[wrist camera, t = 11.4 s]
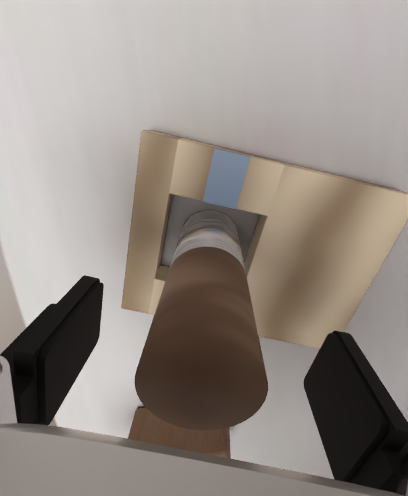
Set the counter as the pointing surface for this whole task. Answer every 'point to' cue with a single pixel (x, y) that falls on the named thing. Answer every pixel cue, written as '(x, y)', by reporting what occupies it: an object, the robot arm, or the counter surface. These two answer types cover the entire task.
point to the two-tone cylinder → (204, 334)
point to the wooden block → (178, 435)
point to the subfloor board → (268, 233)
